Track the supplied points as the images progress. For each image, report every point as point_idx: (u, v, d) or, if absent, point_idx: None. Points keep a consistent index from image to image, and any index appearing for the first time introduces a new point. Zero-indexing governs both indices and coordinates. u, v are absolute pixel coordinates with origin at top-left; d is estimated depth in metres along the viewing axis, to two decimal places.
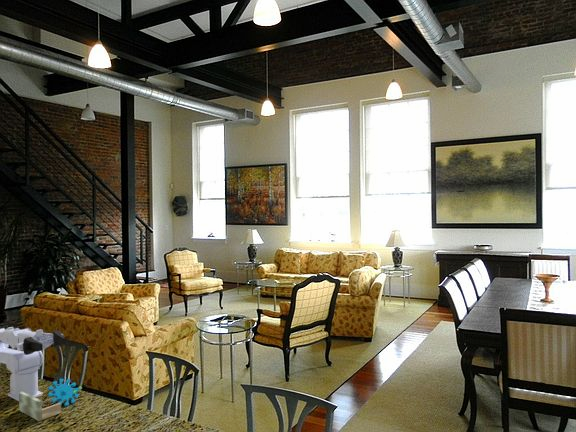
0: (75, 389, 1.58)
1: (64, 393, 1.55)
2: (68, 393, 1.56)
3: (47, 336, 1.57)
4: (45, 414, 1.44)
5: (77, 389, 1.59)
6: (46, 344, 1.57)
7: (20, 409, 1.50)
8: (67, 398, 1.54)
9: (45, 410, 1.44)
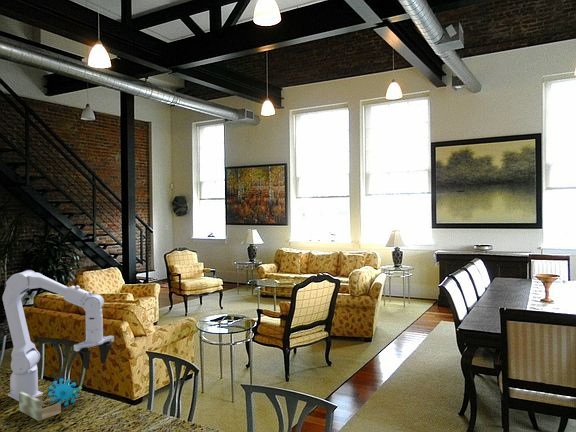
0: (75, 389, 1.58)
1: (64, 393, 1.55)
2: (68, 393, 1.56)
3: None
4: (45, 414, 1.44)
5: (77, 389, 1.59)
6: None
7: (20, 409, 1.50)
8: (67, 398, 1.54)
9: (45, 410, 1.44)
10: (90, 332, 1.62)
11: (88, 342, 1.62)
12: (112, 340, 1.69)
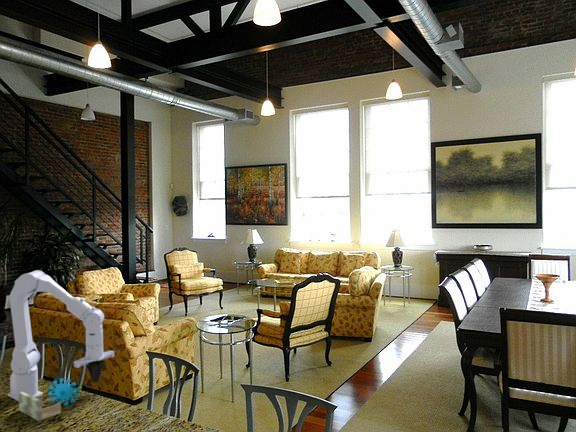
0: (75, 389, 1.58)
1: (64, 393, 1.55)
2: (68, 393, 1.56)
3: (102, 357, 1.66)
4: (45, 414, 1.44)
5: (77, 389, 1.59)
6: None
7: (20, 409, 1.50)
8: (67, 398, 1.55)
9: (45, 410, 1.44)
10: (90, 348, 1.62)
11: (88, 358, 1.62)
12: (112, 355, 1.70)
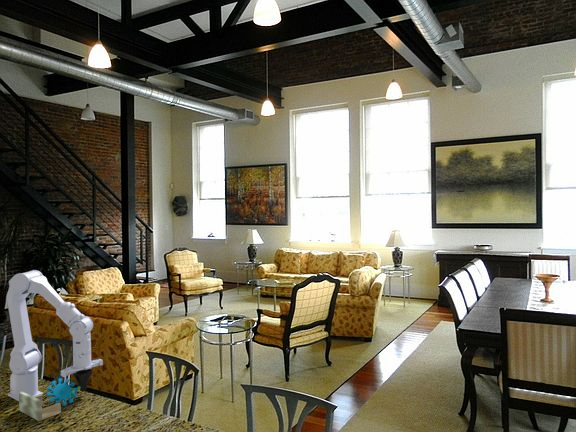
0: (74, 389, 1.58)
1: (62, 393, 1.55)
2: (66, 393, 1.56)
3: None
4: (45, 414, 1.44)
5: (76, 389, 1.58)
6: None
7: (20, 409, 1.50)
8: (65, 398, 1.54)
9: (45, 410, 1.44)
10: (78, 357, 1.58)
11: (76, 367, 1.58)
12: (101, 364, 1.66)
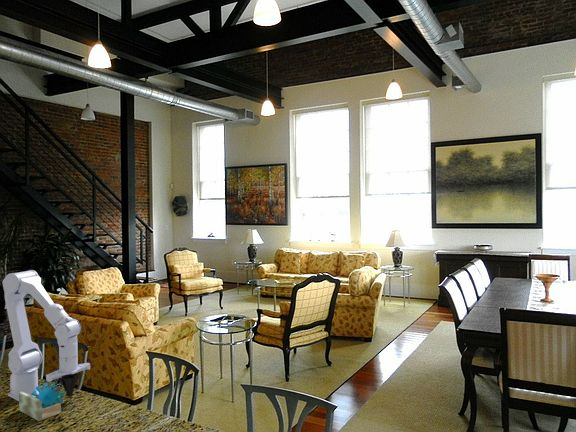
0: (59, 394, 1.54)
1: (47, 398, 1.51)
2: (52, 398, 1.51)
3: None
4: (45, 414, 1.44)
5: (61, 394, 1.54)
6: None
7: (20, 409, 1.50)
8: (50, 403, 1.50)
9: (45, 410, 1.44)
10: (64, 361, 1.54)
11: (61, 371, 1.54)
12: (88, 368, 1.62)
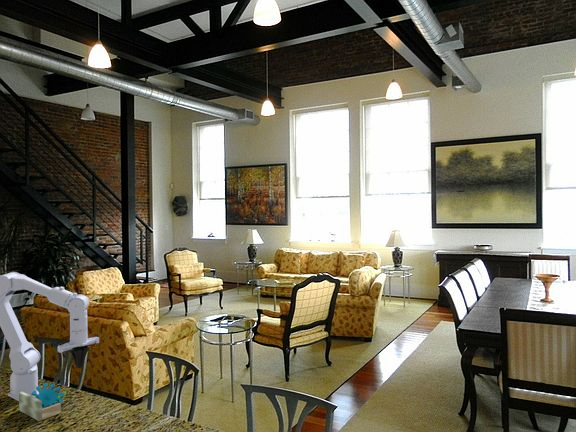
0: (59, 394, 1.54)
1: (47, 398, 1.51)
2: (52, 398, 1.52)
3: None
4: (45, 414, 1.44)
5: (61, 394, 1.54)
6: None
7: (20, 409, 1.50)
8: (50, 404, 1.50)
9: (45, 410, 1.44)
10: (74, 333, 1.61)
11: (72, 343, 1.61)
12: (97, 341, 1.68)
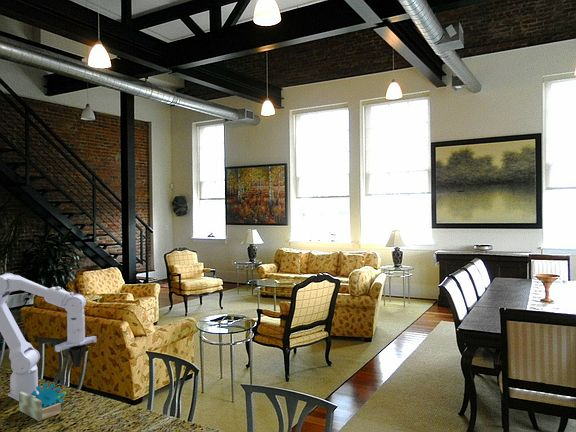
0: (59, 394, 1.54)
1: (47, 398, 1.51)
2: (51, 398, 1.52)
3: (84, 342, 1.66)
4: (45, 414, 1.44)
5: (61, 394, 1.54)
6: None
7: (20, 409, 1.50)
8: (50, 403, 1.50)
9: (45, 410, 1.44)
10: (72, 332, 1.61)
11: (70, 342, 1.62)
12: (94, 340, 1.69)
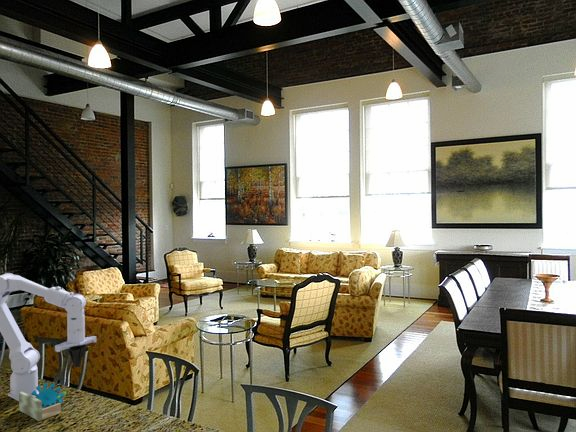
0: (59, 394, 1.54)
1: (47, 398, 1.51)
2: (51, 398, 1.52)
3: (84, 342, 1.66)
4: (45, 414, 1.44)
5: (61, 394, 1.54)
6: None
7: (20, 409, 1.50)
8: (50, 403, 1.50)
9: (45, 410, 1.44)
10: (72, 332, 1.61)
11: (70, 342, 1.62)
12: (94, 340, 1.69)
